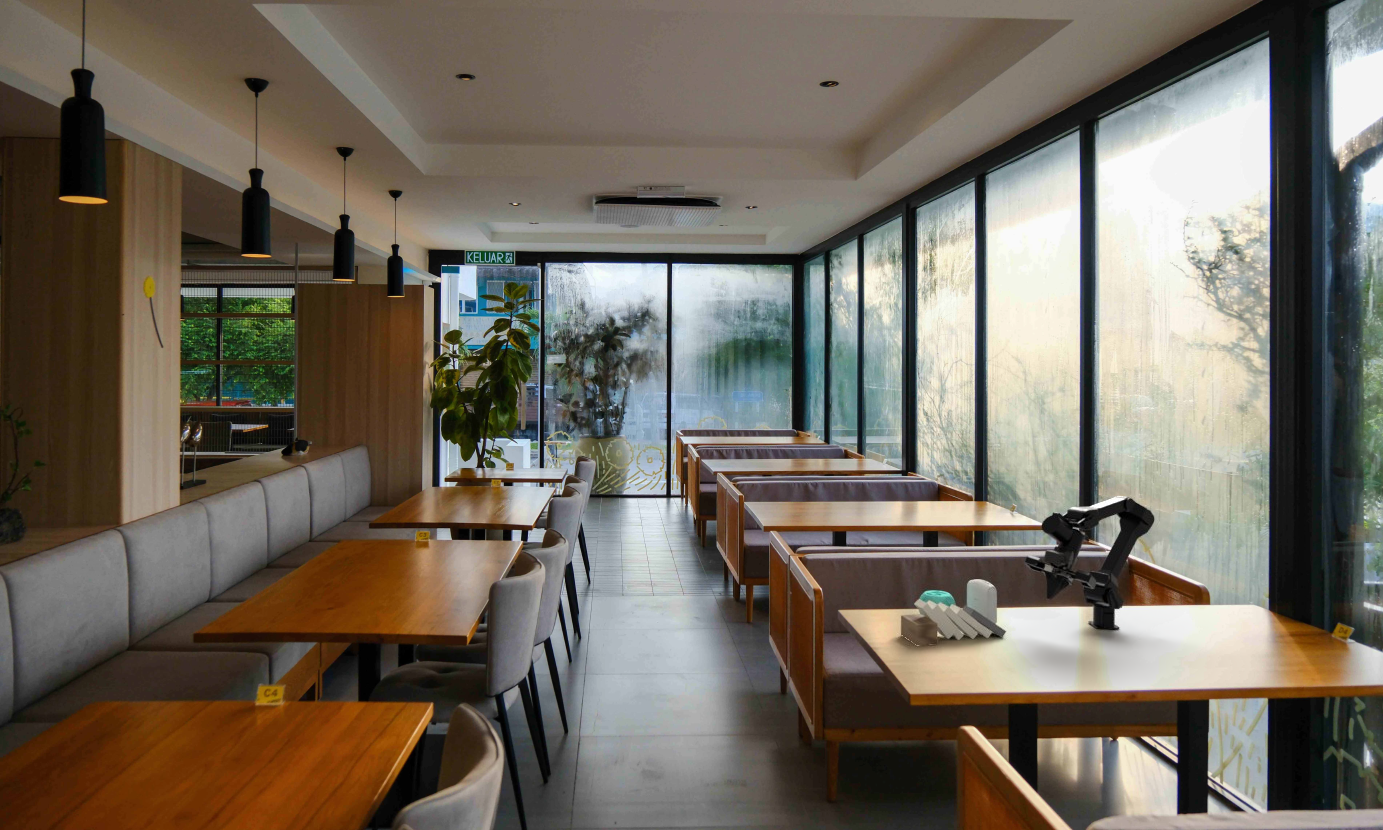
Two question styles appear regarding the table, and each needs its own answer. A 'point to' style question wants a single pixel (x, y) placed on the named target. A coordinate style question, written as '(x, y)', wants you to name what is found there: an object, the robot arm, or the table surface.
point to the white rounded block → (982, 598)
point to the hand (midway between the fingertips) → (1048, 599)
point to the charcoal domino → (984, 621)
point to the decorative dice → (937, 598)
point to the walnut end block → (919, 629)
